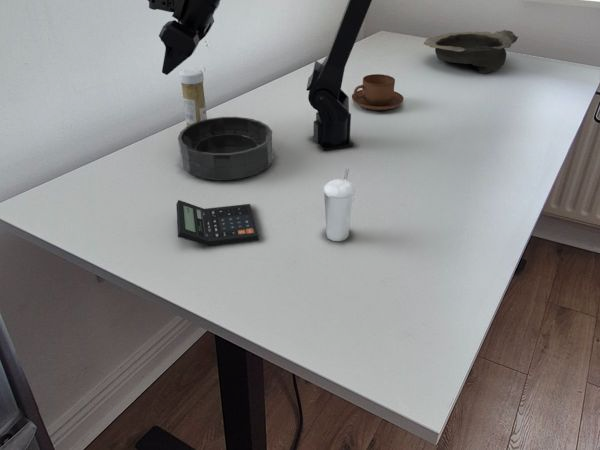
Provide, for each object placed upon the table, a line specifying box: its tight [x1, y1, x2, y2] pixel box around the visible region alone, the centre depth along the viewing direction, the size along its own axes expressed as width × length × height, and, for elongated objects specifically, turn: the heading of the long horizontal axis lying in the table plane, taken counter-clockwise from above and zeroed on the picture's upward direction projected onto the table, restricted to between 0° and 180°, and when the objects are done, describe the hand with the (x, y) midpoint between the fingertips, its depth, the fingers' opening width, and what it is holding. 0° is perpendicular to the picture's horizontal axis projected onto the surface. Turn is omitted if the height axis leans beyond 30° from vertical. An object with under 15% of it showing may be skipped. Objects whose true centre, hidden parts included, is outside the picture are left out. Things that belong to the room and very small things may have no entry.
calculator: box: [176, 199, 260, 247], centre depth 84 cm, size 9×12×3 cm
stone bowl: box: [422, 29, 519, 74], centre depth 153 cm, size 25×25×9 cm
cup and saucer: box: [351, 73, 404, 111], centre depth 127 cm, size 12×12×6 cm
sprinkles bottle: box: [179, 68, 208, 127], centre depth 111 cm, size 5×5×13 cm
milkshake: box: [323, 167, 356, 242], centre depth 81 cm, size 4×5×10 cm
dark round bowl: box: [177, 116, 274, 181], centre depth 103 cm, size 17×17×6 cm
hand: (170, 65), depth 105 cm, fingers open, 9 cm apart
